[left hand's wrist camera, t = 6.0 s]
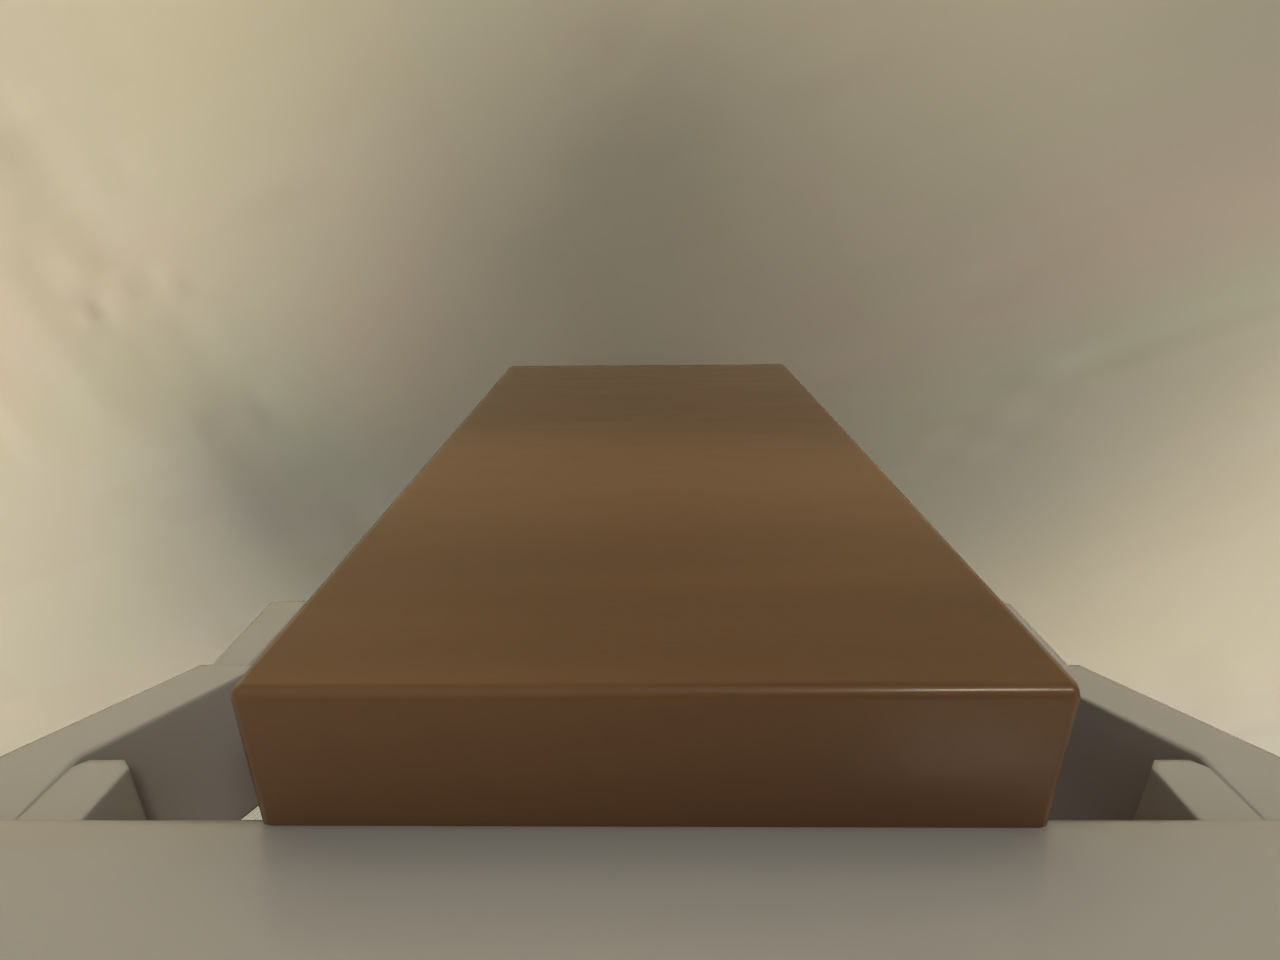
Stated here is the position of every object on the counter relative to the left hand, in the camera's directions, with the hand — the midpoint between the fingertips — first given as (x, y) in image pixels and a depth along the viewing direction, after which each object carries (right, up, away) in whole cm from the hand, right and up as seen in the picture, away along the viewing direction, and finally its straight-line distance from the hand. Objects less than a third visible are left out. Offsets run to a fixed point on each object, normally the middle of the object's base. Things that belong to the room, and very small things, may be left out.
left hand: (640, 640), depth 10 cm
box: (0, -6, +9) cm, 11 cm away
